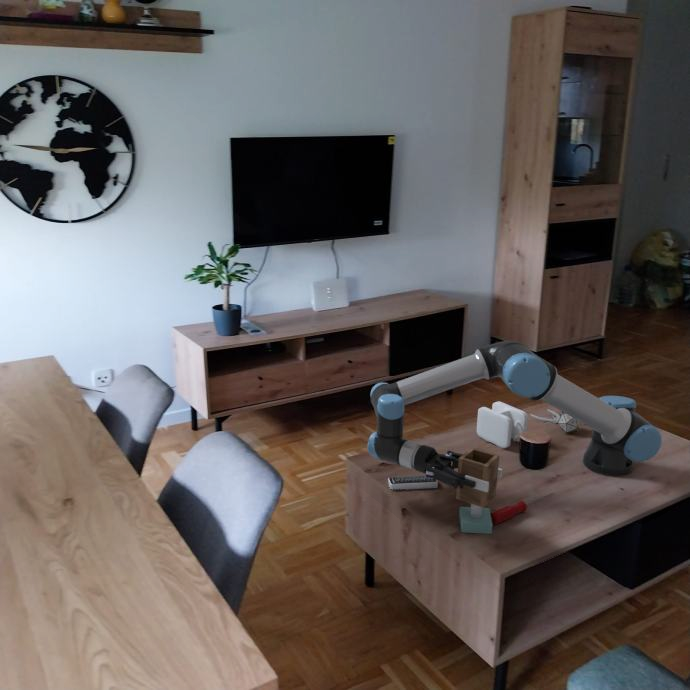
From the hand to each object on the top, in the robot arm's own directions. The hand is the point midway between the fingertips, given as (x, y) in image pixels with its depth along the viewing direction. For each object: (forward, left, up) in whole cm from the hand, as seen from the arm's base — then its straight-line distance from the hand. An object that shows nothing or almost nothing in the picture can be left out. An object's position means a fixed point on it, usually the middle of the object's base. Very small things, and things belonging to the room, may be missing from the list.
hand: (494, 480), depth 187 cm
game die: (-35, -67, -15) cm, 77 cm away
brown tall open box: (+4, -2, -6) cm, 8 cm away
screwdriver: (-11, -11, -15) cm, 22 cm away
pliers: (-32, -78, -16) cm, 85 cm away
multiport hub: (+21, -23, -16) cm, 35 cm away
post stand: (+4, -2, -15) cm, 16 cm away
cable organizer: (-10, -58, -15) cm, 61 cm away
